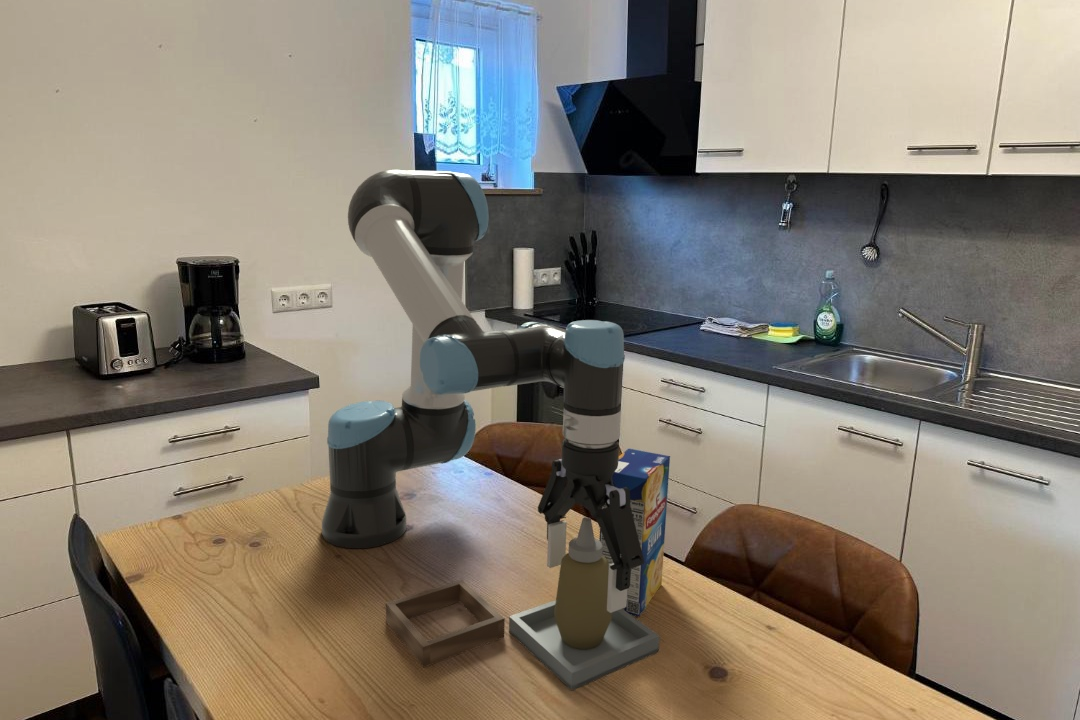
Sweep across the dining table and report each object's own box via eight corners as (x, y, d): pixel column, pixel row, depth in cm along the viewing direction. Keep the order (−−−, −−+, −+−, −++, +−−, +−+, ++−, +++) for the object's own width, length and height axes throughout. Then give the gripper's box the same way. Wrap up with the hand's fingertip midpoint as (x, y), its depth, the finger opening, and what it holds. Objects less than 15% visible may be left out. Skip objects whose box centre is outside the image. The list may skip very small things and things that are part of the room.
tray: (508, 631, 105) (509, 616, 104) (591, 601, 113) (592, 587, 113) (571, 690, 93) (572, 673, 92) (658, 651, 101) (659, 635, 101)
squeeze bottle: (548, 650, 100) (551, 528, 96) (558, 618, 108) (562, 504, 104) (607, 659, 98) (613, 535, 94) (613, 625, 106) (619, 510, 102)
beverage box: (596, 605, 112) (602, 470, 108) (622, 573, 122) (628, 448, 117) (638, 617, 109) (646, 479, 105) (661, 584, 119) (670, 456, 114)
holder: (386, 621, 107) (385, 602, 106) (462, 597, 114) (462, 579, 113) (423, 667, 97) (423, 647, 96) (504, 637, 104) (504, 618, 103)
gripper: (515, 418, 104) (513, 555, 109) (632, 475, 84) (623, 639, 89) (558, 411, 109) (554, 542, 113) (679, 463, 89) (668, 620, 93)
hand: (584, 585), depth 101 cm, fingers open, 13 cm apart
